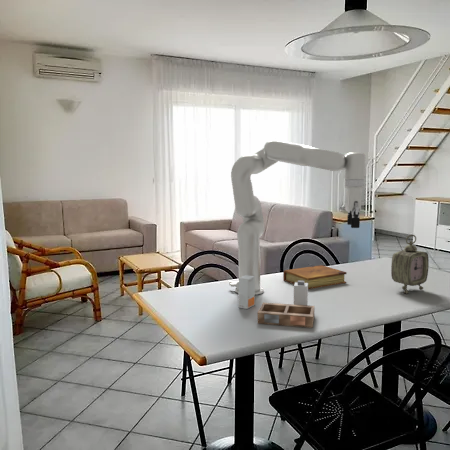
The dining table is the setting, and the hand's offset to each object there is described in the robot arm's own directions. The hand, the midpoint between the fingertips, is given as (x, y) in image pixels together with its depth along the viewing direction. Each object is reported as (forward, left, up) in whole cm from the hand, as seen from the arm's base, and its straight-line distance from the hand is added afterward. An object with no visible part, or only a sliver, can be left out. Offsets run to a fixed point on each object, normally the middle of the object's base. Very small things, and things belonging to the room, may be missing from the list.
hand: (353, 226), depth 179 cm
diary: (-16, +26, -31) cm, 44 cm away
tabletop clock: (+25, +19, -31) cm, 44 cm away
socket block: (-23, -31, -31) cm, 49 cm away
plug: (-19, -18, -31) cm, 40 cm away
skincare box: (-40, -19, -31) cm, 54 cm away
